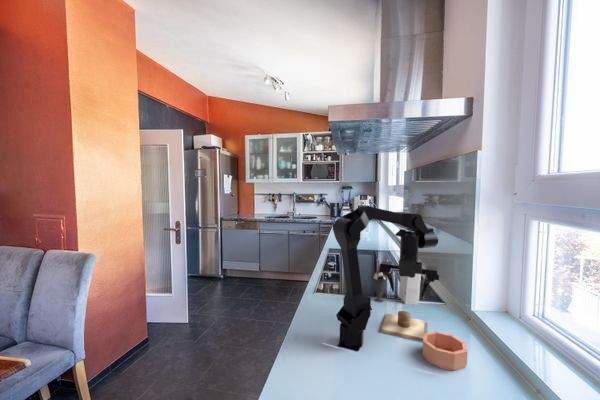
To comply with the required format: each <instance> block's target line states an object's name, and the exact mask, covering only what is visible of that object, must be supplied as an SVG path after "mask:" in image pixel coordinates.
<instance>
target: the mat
mask: <svg viewBox="0 0 600 400" xmlns="http://www.w3.org/2000/svg"><path fill="white" fill-rule="evenodd" d="M386 315H387V313H384V315H383V318H382V321H381V323H380V325H379V328H378V331H377V333H379V334H383V335H387V336H391V337H394V338H395V337H396V338H399V339H404V340H408V341H412V342H417V343H420V344H423V341H419V340H415V339H411V338H406V337H402V336H398V335H393V334H389V333H385V332H381V329H382V326H383V323H384V320H385V318H386ZM428 324H429V323H428V322H425V324H424V333H428Z"/></svg>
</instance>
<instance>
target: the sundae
mask: <svg viewBox="0 0 600 400" xmlns="http://www.w3.org/2000/svg"><path fill="white" fill-rule="evenodd" d="M370 278H371V280H372V284H373V290H374V292H375V293H376V294H377V295H376V298H374V299H373V301H374V302H376V303H383V302H384V300H383V299H382V298H381V294H382V293H383V292H384V290H385V285H386V281H387V280H388V278H387V277H385V275H383V272H379V268H377V269H376V272H375V273H374V275H371V276H370Z"/></svg>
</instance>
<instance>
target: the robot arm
mask: <svg viewBox="0 0 600 400" xmlns="http://www.w3.org/2000/svg"><path fill="white" fill-rule="evenodd" d="M371 220H376V221H381V222H385V223H391V224H393V225H395V226H396V227H398V228H400V229H399V230H398V231H397V232H396V233H395V234H394V235H395V237H400V246H399V260H398V265H397V264H393V263H394V262H393V261H389V260H382V261H381V262H380V263H379V264H378V265H379V266H378V269H379V272H381V273H382V274H383V276H386V278H387V280H388V282H389V285H390V288H391V291H392V293H395V274H394V272H395V271H396V272H398V275H399V277H401V276H407V277H410V278H414V277H415V274H421V275H424V278H423V284H422V288H421V298H424V296H425V293H426V291H427V288H428V286H429V285H430V283H434V282H435V281H439V280H440V268H438V267H437V266H429V265H428V266H427V265H425V268H423V262H419V249H428V248H429V249H430V248H434V247H437V245H438V243H439V238H438V235H437V234H436V232H434V228H433V227H428V226H427V225H426V223H425V221H424V219H423V217H422V214H420V213H418V212H409V211H408V212H407V211H393V210H392V211H391V210H386V209H381V208H378V207H374V206H371V205H366V204H365V205H363V204H362V205H360V206H358V207H357V208H355V209H354V210H352V211H350V212H348V213H346V214H345V215H343V216H342V217H339V218H337V219H336V220H335V221H334V223H333V224H332V230H333V234H334V239H335V240H336V243H337V244H338V246H339V247H340V251H341V259H342V267H343V273H344V274H343V275H344V281H345V288H346V293H345V295H344V297H343V305H342V307H341V308H340V309H339V311H337V313H336V314H335V315H336V319H337V321H338V322H340V324H339V341H338V343H337V347H340V348H344V349H348V350H351V351H355V352H359V351H360V349H361V348H362V347H363V345H364V335H365V334H364V333H365V331H366V329H367V328H366V327H367V325H368V323H369V319H370V317H371V313H372V311H373V308H372V306H371V305H372V303H371V302H372V301H371V297H370V296H368V295H366V294H365V293H364V292H363V286H362V278H361V277H362V276H361V270H360V261H359V253H358V245H359V243H360V240H361V234H362V233H361V232H362V231H364V230H365V229H366V228H367V226H368V225H369V223H370V221H371Z"/></svg>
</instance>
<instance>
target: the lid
mask: <svg viewBox="0 0 600 400" xmlns="http://www.w3.org/2000/svg"><path fill="white" fill-rule="evenodd" d="M425 323H426V322H425V320H423V319H417V318H412V317H411V313H410V312H409V311H405V310H399V311H398V312H397V314H392V313H388V312H387V313H386V318H385V320H384V323H383V326H382V329H381V332H385V333H389V334H393V335H398V336H402V337H406V338H411V339H415V340H419V341H423V336H424V324H425Z"/></svg>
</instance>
